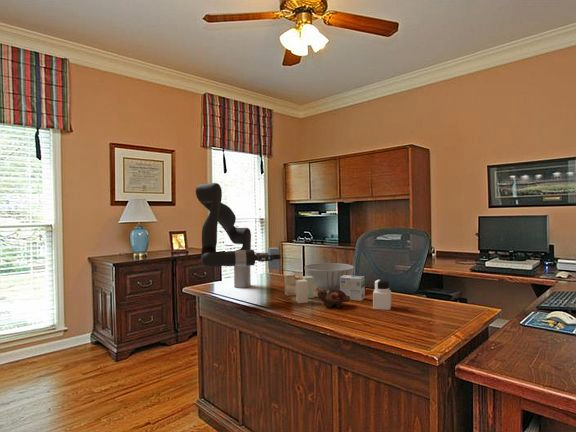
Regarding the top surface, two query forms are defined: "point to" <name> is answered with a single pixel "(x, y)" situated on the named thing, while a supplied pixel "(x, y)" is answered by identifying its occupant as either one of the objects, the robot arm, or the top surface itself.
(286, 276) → the maple pillar
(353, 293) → the light bulb box
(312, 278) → the sage pillar
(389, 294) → the medicine bottle
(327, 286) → the decorative bowl
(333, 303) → the decorative turtle
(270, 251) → the slate-blue pillar
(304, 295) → the ivory pillar
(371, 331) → the top surface
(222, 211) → the robot arm
